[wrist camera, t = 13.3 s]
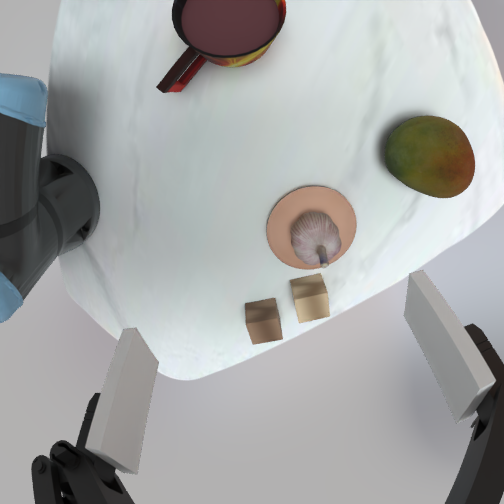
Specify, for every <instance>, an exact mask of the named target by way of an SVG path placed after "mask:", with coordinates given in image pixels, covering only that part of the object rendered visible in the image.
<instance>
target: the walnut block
mask: <svg viewBox="0 0 504 504" xmlns="http://www.w3.org/2000/svg"><path fill="white" fill-rule="evenodd" d="M245 315H246V326H247V329H248V332H249V335H250V338H251V341H252V344H253V345H254V344H260V343H265V342H271V341H276V340H281V339H283V337H282V330H281V323H280V317H279V313H278V309H277V304H276V300H275V298H271V299H266V300H261V301H255V302H250V303H245Z"/></svg>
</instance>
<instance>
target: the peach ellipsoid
mask: <svg viewBox="0 0 504 504" xmlns="http://www.w3.org/2000/svg"><path fill="white" fill-rule="evenodd" d="M308 212H316V213H325V214H327V215H328V216H330V218H331V219H332V221H333V223H334V224H335V225H336V226H337V227H338V229H339V237H340V239H341V243H342V244H341V249H340V251H339V253H338V254H337V255H335V256H334V257H333V258H332V259H331V260H330V261H328V262H329V264H331V263H333V262H335V261H336V260H338V259H339V258H340V257H341V256H342V255H343V254H344V253H345V252H346V251H347V250H348V248H349V247H350V245H351V244H352V242H353V239H354V237H355V233H356V216H355V213H354V210H353V208H352V206H351V205H350V203H349V202H348V201H347V199H346V198H345V197H344V196H342V195H341V194H340V193H338V192H336V191H335V190H332V189H330V188H326V187H320V186H310V187H304V188H301V189H298V190H295V191H293V192H291V193H289V194H288V195H286V196H285V197H284V198H283V199H281V200H280V201H279V202H278V204H277V205H276V206H275V207H274V209H273V211H272V212H271V214H270V217H269V220H268V223H267V238H268V243H269V246H270V248H271V250H272V251H273V253H274V254H275V255H276V257H277V258H278V259H280V260H281V261H282V262H284V263H285V264H287V265H289V266H291V267H295V268H299V269H317V268H321V266H320V263H318V264H316V265H307V264H305V263H304V262H303V261H302V260H300V259H298V258H297V256H296V255H295V252H294V249H293V247H292V245H291V233H290V230H291V227H292V225H293V224H294V223H295V222H297V221H298V220H299V218H300V217H301V216H302V215H303V214H305V213H308Z"/></svg>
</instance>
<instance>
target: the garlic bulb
mask: <svg viewBox="0 0 504 504" xmlns="http://www.w3.org/2000/svg"><path fill="white" fill-rule="evenodd" d="M290 233H291V245H292V247H293V249H294V252H295V255H296V256H297V258H298V259H300V260H302V261H303V262H304V263H305V264H307V265H316V264H318V263H320V266H321V268H326V267H327V266H329V262H328V261H330V260H331V259H332V258H333V257H334V256H335V255H337V254H338V253H339V251H340V249H341V244H342V243H341V239H340V237H339V229H338V227H337V226H336V225H335V224H334V223H333V221H332V219H331V218H330V216H328V215H327V214H325V213H316V212H308V213H305V214H303V215H302V216H301V217H300V218H299V220H298V221H297V222H295V223H294V224H293V225H292V227H291V230H290Z"/></svg>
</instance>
